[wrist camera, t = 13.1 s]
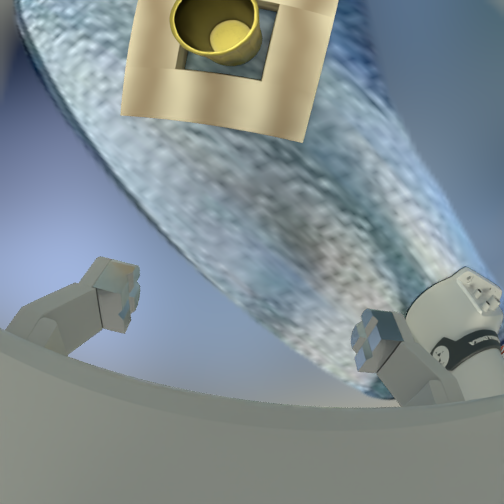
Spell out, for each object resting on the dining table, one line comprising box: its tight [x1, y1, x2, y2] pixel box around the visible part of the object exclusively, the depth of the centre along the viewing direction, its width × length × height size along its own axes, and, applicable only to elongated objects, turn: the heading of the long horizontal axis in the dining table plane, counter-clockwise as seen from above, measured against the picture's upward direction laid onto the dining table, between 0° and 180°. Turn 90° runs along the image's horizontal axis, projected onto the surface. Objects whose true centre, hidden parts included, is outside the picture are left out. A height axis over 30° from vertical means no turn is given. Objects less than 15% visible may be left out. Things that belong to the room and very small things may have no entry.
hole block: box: [121, 0, 338, 143], centre depth 23 cm, size 18×18×4 cm
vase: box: [169, 0, 262, 66], centre depth 19 cm, size 6×6×14 cm
